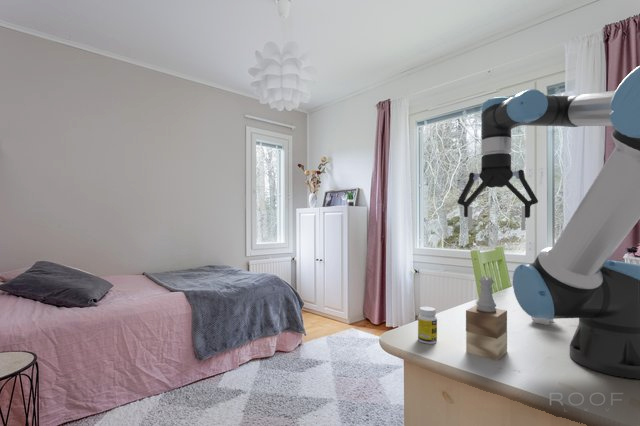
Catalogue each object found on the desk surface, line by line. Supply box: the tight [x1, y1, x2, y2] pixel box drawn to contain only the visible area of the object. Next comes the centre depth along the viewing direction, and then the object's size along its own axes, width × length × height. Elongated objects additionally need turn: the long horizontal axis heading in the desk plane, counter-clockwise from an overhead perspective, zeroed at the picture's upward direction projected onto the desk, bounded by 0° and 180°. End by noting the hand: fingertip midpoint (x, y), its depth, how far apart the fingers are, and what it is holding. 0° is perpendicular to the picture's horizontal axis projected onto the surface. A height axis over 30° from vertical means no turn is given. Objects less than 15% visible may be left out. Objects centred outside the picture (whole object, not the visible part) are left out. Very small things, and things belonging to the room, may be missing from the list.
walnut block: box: [465, 304, 508, 339], centre depth 82 cm, size 7×7×5 cm
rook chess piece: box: [476, 275, 498, 313], centre depth 82 cm, size 4×4×8 cm
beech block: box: [465, 330, 508, 361], centre depth 82 cm, size 7×7×5 cm
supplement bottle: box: [417, 306, 438, 345], centre depth 89 cm, size 5×5×8 cm
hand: (495, 229), depth 97 cm, fingers open, 13 cm apart
